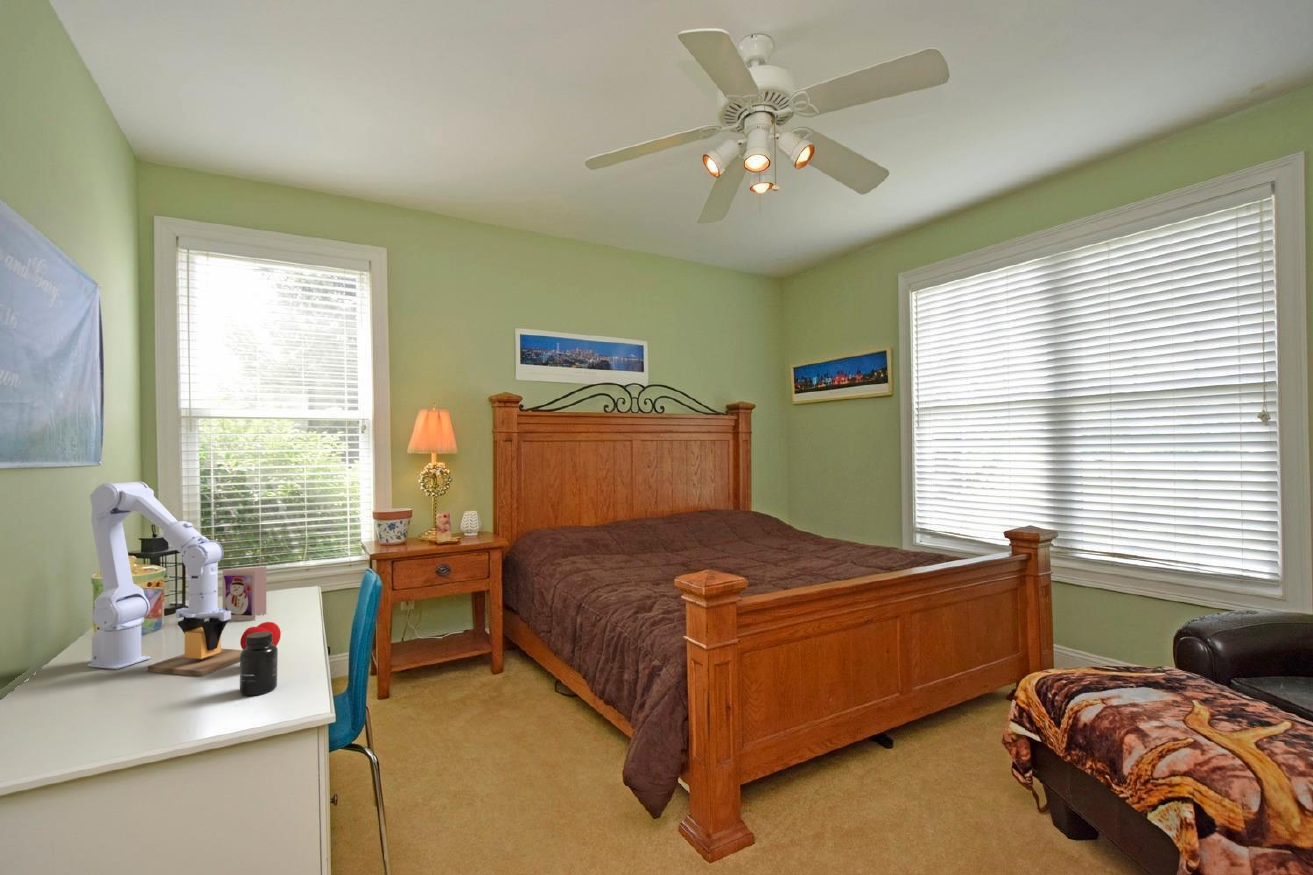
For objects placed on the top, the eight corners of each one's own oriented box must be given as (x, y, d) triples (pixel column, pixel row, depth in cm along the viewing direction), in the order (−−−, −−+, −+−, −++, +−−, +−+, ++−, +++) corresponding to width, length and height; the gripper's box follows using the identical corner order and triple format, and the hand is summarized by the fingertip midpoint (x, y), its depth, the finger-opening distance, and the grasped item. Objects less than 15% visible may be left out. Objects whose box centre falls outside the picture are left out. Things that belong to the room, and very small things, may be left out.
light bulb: (257, 674, 141) (257, 631, 141) (231, 672, 143) (231, 629, 143) (288, 660, 150) (288, 619, 151) (264, 659, 152) (264, 618, 152)
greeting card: (220, 619, 188) (220, 570, 188) (240, 613, 195) (240, 566, 195) (252, 621, 186) (252, 571, 186) (272, 614, 193) (272, 566, 193)
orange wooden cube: (184, 657, 147) (184, 632, 147) (204, 650, 152) (204, 626, 152) (201, 658, 146) (201, 633, 146) (220, 651, 151) (220, 627, 151)
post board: (147, 671, 144) (147, 646, 144) (204, 651, 158) (204, 629, 158) (202, 676, 141) (202, 651, 141) (255, 656, 154) (255, 633, 154)
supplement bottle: (237, 699, 127) (237, 641, 128) (241, 688, 134) (242, 632, 134) (276, 692, 131) (276, 636, 131) (278, 682, 137) (278, 628, 137)
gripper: (163, 594, 147) (163, 651, 147) (211, 597, 144) (211, 655, 144) (191, 588, 154) (191, 642, 154) (238, 590, 151) (238, 646, 151)
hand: (203, 648), depth 149 cm, fingers closed on orange wooden cube, 5 cm apart
